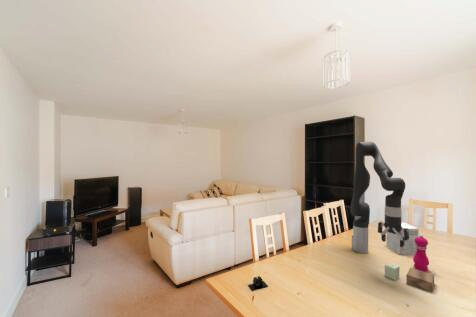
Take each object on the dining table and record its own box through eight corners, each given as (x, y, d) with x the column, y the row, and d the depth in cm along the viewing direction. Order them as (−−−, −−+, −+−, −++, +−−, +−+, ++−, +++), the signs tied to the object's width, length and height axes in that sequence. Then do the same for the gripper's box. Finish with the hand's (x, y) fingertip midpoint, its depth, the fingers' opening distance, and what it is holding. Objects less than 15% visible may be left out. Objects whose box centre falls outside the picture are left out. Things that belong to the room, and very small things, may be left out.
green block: (384, 275, 123) (384, 265, 122) (389, 273, 125) (389, 262, 125) (394, 280, 118) (394, 269, 118) (399, 277, 121) (399, 266, 121)
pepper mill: (422, 272, 125) (423, 237, 125) (409, 266, 132) (410, 233, 132) (432, 270, 127) (432, 236, 126) (418, 264, 134) (419, 231, 133)
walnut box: (406, 284, 115) (406, 274, 115) (410, 276, 122) (410, 267, 122) (431, 292, 108) (432, 282, 108) (434, 284, 115) (434, 274, 115)
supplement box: (419, 254, 147) (419, 228, 146) (398, 254, 147) (399, 228, 146) (404, 246, 160) (404, 222, 159) (385, 246, 160) (386, 222, 160)
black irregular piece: (265, 280, 120) (265, 272, 120) (272, 288, 113) (272, 279, 113) (244, 285, 116) (244, 277, 115) (249, 294, 109) (249, 285, 109)
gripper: (375, 212, 125) (375, 241, 125) (405, 219, 113) (404, 250, 113) (382, 210, 129) (382, 238, 129) (411, 216, 117) (411, 247, 117)
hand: (392, 244), depth 121 cm, fingers open, 8 cm apart
